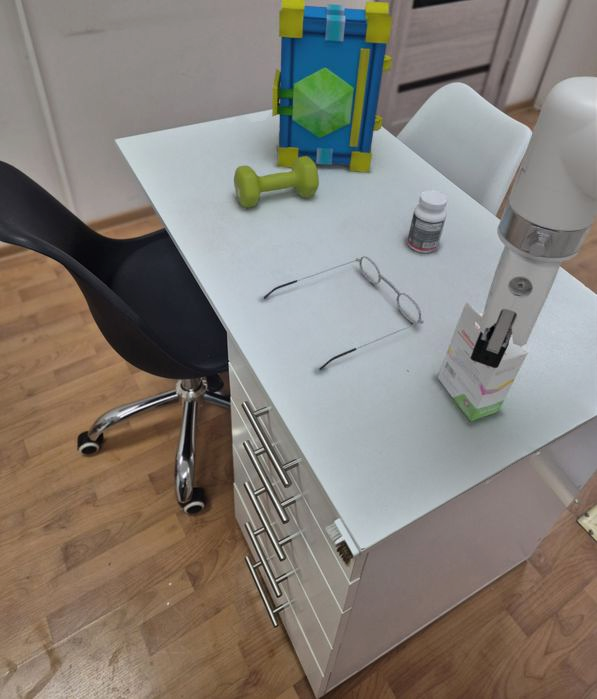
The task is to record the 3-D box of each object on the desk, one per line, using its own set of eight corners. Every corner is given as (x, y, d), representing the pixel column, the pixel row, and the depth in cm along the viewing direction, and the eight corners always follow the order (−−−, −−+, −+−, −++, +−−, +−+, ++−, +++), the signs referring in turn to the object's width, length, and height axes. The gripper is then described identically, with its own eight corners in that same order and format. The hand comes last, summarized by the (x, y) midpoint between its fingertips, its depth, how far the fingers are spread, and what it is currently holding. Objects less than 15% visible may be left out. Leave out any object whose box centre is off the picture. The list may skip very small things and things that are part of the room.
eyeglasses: (423, 330, 85) (428, 311, 82) (320, 374, 78) (321, 355, 75) (358, 266, 96) (361, 248, 93) (263, 300, 89) (262, 281, 86)
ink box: (500, 413, 74) (540, 336, 64) (469, 423, 73) (505, 346, 62) (464, 368, 80) (496, 291, 69) (435, 376, 78) (463, 298, 68)
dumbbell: (243, 215, 105) (242, 181, 100) (231, 194, 110) (229, 161, 105) (321, 201, 110) (324, 168, 105) (305, 182, 115) (308, 149, 110)
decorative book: (275, 141, 127) (278, -8, 106) (373, 148, 127) (396, 0, 106) (271, 172, 117) (272, 13, 96) (377, 178, 118) (403, 22, 96)
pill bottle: (413, 232, 104) (425, 185, 97) (442, 242, 102) (455, 194, 95) (402, 247, 100) (412, 199, 93) (430, 257, 99) (444, 209, 91)
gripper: (577, 283, 45) (505, 417, 58) (591, 199, 54) (527, 331, 68) (486, 256, 47) (436, 392, 60) (515, 180, 56) (467, 311, 70)
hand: (484, 359), depth 64 cm, fingers closed
